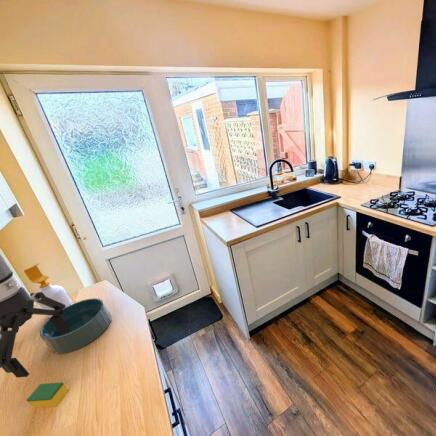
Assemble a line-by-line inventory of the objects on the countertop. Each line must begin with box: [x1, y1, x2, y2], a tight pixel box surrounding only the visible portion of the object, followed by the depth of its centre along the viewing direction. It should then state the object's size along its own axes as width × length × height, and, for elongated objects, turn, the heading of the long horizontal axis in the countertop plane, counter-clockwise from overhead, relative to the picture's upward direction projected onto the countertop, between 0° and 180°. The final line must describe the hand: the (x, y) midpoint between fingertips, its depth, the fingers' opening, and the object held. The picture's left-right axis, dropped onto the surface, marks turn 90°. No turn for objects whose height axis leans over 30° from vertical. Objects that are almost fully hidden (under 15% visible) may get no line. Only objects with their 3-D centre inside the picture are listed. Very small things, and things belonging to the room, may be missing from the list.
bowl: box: [39, 297, 112, 354], centre depth 95 cm, size 19×19×8 cm
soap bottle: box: [23, 263, 74, 319], centre depth 104 cm, size 9×9×25 cm
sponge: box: [25, 381, 69, 409], centre depth 73 cm, size 7×4×4 cm, turn 90°
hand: (46, 352), depth 71 cm, fingers open, 13 cm apart
